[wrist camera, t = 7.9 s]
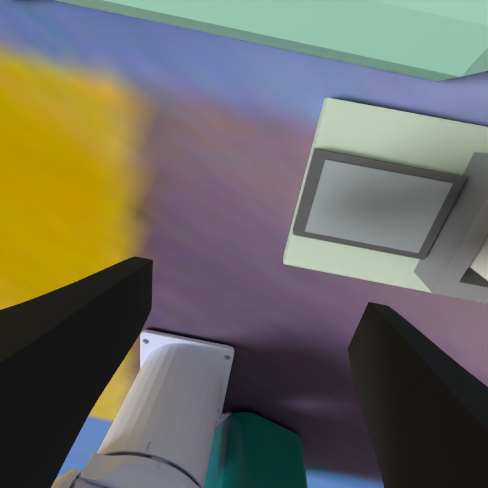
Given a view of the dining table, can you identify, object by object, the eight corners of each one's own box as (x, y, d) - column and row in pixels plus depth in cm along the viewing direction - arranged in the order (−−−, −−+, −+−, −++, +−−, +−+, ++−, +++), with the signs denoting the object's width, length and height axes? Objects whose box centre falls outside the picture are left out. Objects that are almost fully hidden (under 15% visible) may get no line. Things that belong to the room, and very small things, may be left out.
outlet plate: (538, 306, 19) (588, 342, 16) (283, 256, 19) (285, 283, 16) (654, 159, 15) (753, 171, 12) (324, 98, 15) (337, 94, 12)
